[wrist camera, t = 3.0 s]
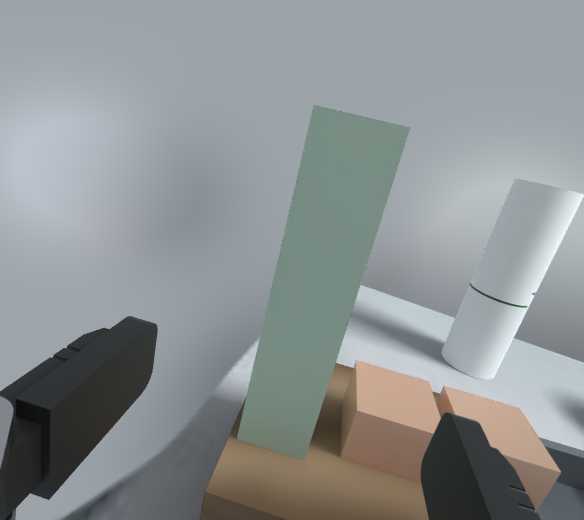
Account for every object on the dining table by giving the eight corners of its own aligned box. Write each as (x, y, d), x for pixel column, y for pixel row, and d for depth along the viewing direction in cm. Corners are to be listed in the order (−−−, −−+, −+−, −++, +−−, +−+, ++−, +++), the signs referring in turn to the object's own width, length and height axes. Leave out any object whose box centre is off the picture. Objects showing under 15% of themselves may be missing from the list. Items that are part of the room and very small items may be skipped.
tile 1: (425, 426, 25) (443, 385, 24) (497, 447, 25) (519, 408, 24) (442, 490, 20) (466, 443, 19) (532, 518, 20) (561, 472, 19)
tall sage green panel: (265, 368, 27) (325, 119, 21) (316, 383, 27) (391, 135, 21) (236, 439, 20) (313, 105, 15) (304, 460, 20) (410, 127, 14)
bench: (253, 408, 33) (269, 343, 30) (450, 469, 31) (482, 406, 29) (186, 584, 19) (204, 491, 17) (523, 706, 18) (592, 622, 16)
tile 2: (342, 401, 26) (356, 360, 24) (411, 421, 25) (428, 381, 24) (340, 457, 21) (357, 410, 20) (425, 484, 20) (447, 438, 19)
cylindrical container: (501, 370, 50) (588, 196, 42) (484, 386, 45) (579, 192, 37) (453, 343, 55) (523, 181, 47) (432, 354, 50) (507, 176, 42)
